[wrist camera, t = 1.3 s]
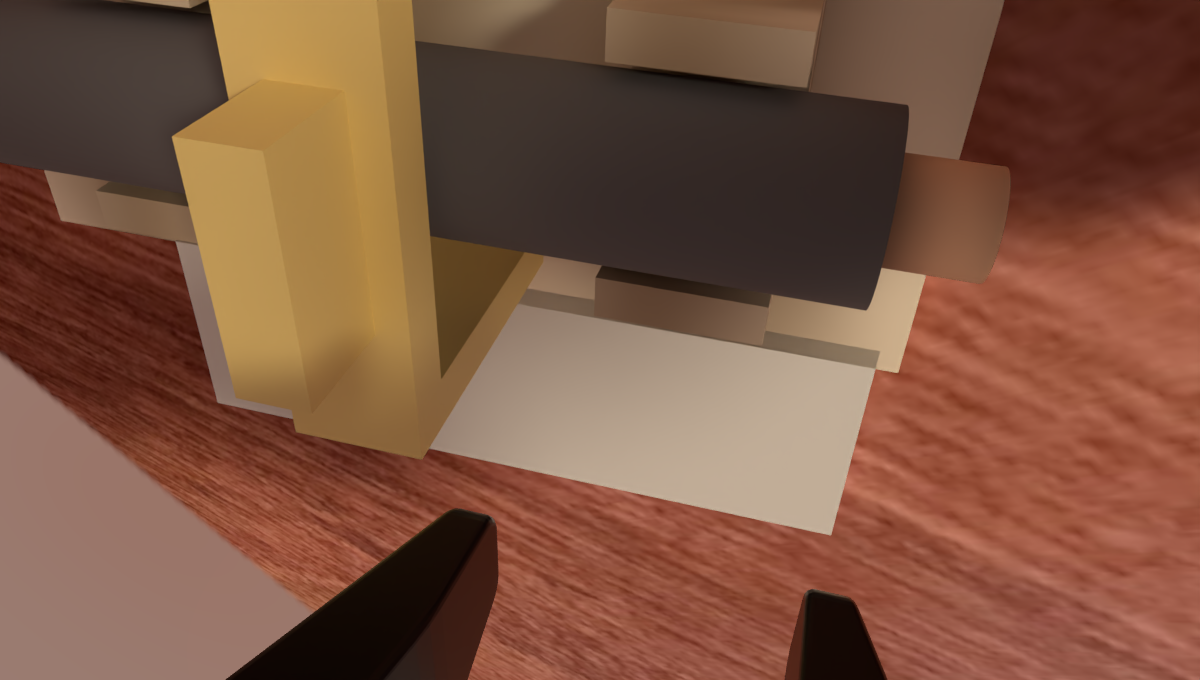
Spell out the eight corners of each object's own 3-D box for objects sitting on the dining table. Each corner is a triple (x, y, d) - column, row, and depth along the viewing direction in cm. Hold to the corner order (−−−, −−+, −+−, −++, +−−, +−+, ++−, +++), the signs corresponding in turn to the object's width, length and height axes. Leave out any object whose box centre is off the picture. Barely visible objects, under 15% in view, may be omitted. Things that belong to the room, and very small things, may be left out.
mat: (880, 336, 21) (880, 351, 21) (832, 518, 25) (831, 535, 24) (185, 214, 25) (171, 224, 24) (228, 390, 28) (217, 402, 28)
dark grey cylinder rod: (1013, 88, 15) (1037, 173, 12) (959, 263, 16) (969, 370, 14) (-23, -41, 18) (-172, 4, 16) (29, 115, 20) (-96, 179, 18)
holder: (1071, -258, 15) (1137, -232, 10) (898, 357, 22) (897, 517, 18) (-98, -326, 19) (-381, -327, 15) (76, 210, 26) (-81, 311, 22)
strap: (544, -182, 16) (274, -75, 9) (543, 261, 22) (370, 545, 15) (417, -192, 17) (65, -99, 10) (446, 245, 22) (232, 511, 15)
